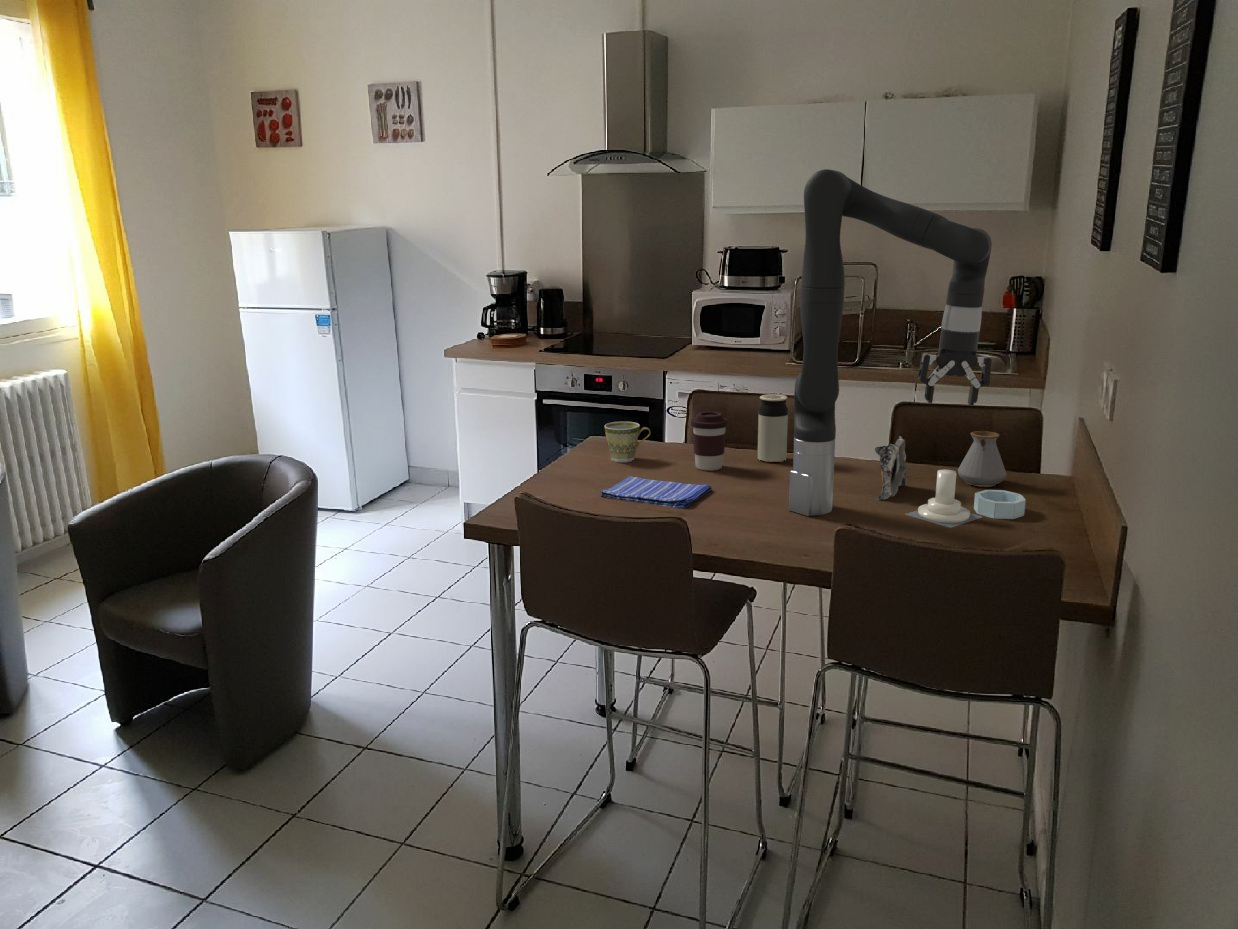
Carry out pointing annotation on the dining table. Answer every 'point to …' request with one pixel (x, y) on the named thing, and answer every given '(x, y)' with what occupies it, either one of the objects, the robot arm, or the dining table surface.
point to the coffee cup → (709, 440)
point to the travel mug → (772, 428)
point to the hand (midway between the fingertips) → (950, 403)
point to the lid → (944, 501)
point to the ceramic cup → (623, 440)
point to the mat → (950, 525)
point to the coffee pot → (983, 461)
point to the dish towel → (656, 492)
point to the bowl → (999, 504)
